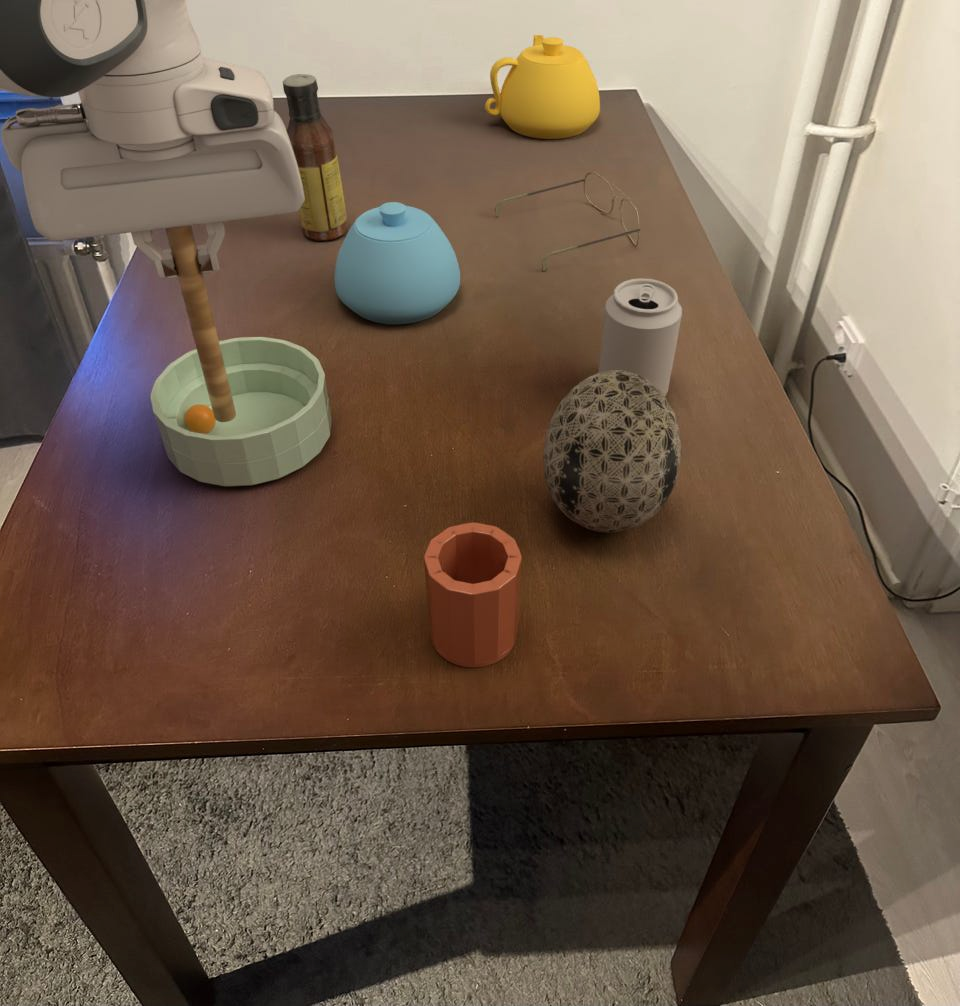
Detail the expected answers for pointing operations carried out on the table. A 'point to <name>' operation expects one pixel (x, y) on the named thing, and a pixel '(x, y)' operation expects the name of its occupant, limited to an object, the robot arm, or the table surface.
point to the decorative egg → (612, 452)
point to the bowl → (246, 413)
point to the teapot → (546, 91)
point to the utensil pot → (473, 593)
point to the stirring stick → (201, 321)
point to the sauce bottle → (315, 161)
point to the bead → (199, 419)
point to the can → (641, 330)
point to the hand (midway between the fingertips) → (190, 271)
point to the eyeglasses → (591, 204)
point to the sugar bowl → (396, 266)
